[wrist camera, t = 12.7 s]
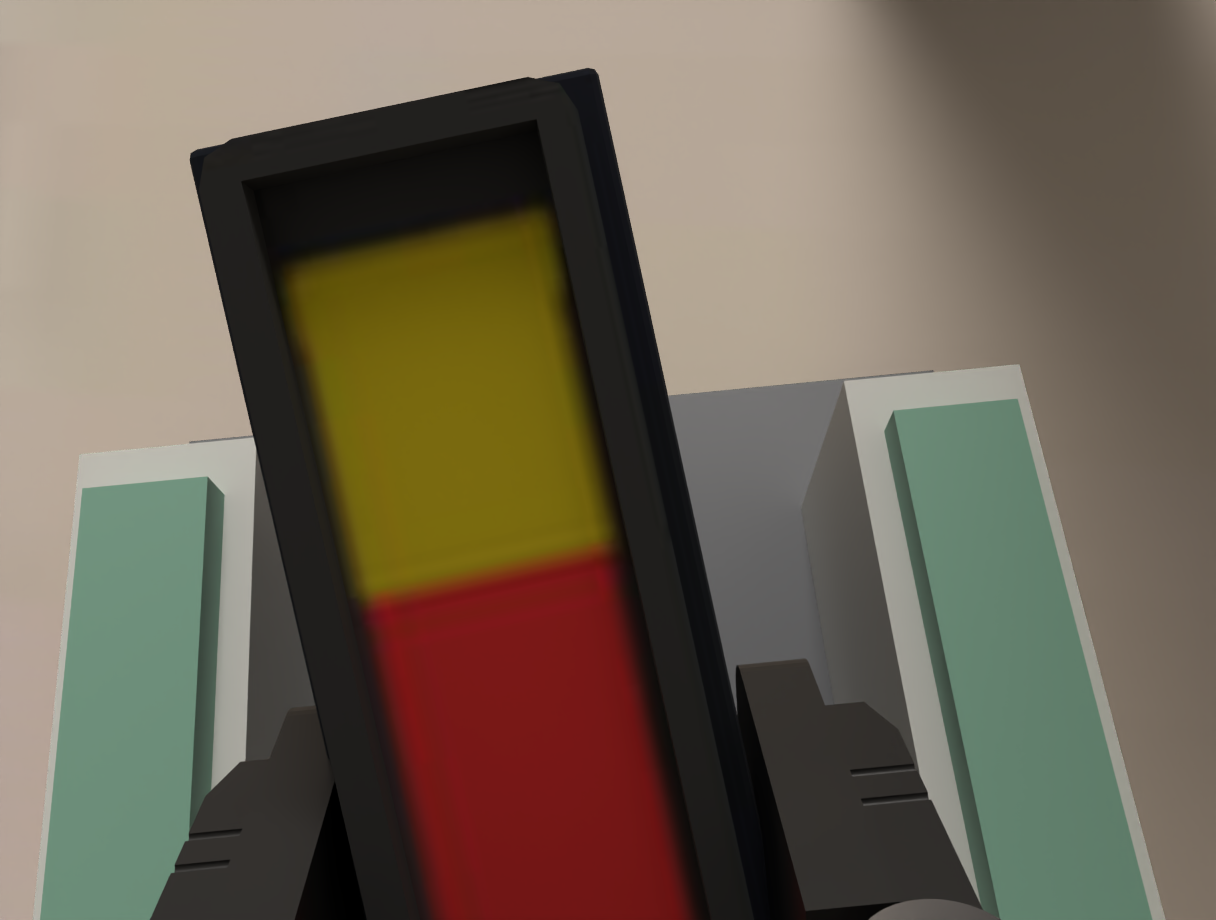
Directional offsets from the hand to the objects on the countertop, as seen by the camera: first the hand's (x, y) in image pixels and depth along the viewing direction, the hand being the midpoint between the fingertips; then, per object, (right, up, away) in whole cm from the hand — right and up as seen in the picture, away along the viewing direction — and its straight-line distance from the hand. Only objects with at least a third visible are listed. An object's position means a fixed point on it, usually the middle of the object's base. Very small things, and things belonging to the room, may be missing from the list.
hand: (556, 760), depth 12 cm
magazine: (0, -3, +10) cm, 10 cm away
